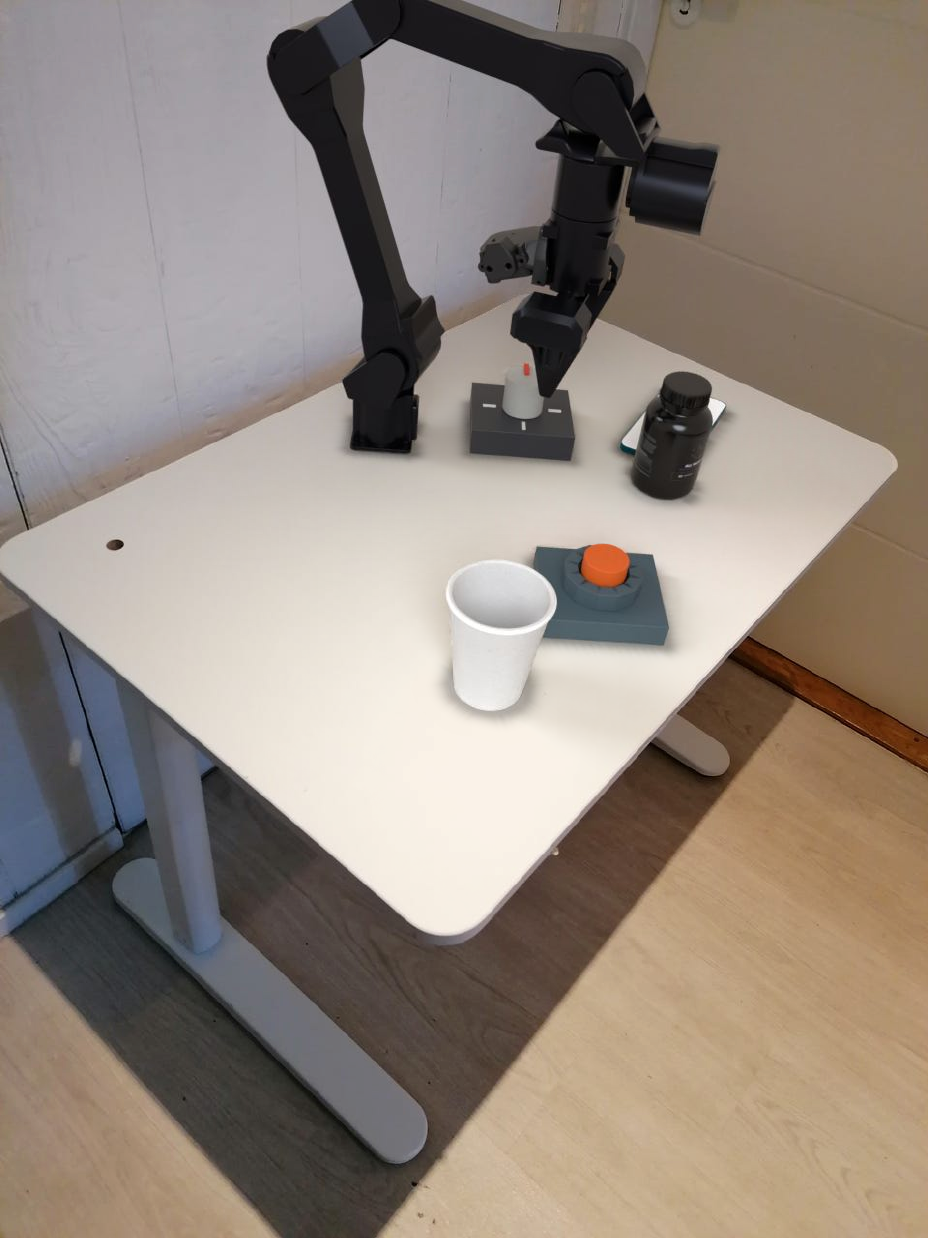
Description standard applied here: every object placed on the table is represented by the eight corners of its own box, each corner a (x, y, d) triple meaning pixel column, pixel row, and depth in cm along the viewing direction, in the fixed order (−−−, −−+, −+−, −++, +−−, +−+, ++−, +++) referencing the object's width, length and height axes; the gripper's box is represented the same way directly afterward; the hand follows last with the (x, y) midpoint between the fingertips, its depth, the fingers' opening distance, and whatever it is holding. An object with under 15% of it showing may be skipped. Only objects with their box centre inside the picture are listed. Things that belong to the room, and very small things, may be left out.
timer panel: (469, 453, 104) (472, 428, 102) (469, 405, 112) (472, 380, 109) (570, 461, 105) (575, 436, 103) (564, 412, 112) (568, 388, 110)
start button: (582, 586, 84) (586, 570, 83) (578, 557, 87) (582, 541, 86) (628, 589, 84) (632, 573, 83) (622, 560, 87) (626, 544, 86)
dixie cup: (559, 700, 79) (579, 609, 72) (473, 738, 75) (486, 646, 68) (501, 636, 84) (515, 546, 77) (417, 669, 80) (425, 577, 73)
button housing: (538, 637, 84) (545, 603, 81) (533, 564, 91) (539, 530, 89) (663, 645, 85) (674, 612, 82) (648, 572, 92) (657, 538, 89)
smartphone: (683, 474, 105) (727, 410, 116) (685, 467, 104) (729, 403, 115) (615, 450, 107) (664, 389, 118) (617, 443, 107) (666, 382, 117)
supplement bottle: (692, 507, 100) (722, 407, 92) (627, 495, 101) (650, 395, 93) (695, 469, 105) (723, 371, 97) (632, 458, 106) (654, 360, 97)
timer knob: (543, 420, 105) (548, 384, 102) (502, 417, 104) (507, 381, 102) (541, 399, 108) (546, 364, 105) (501, 396, 108) (506, 361, 105)
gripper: (524, 161, 91) (506, 317, 102) (460, 227, 78) (447, 399, 89) (640, 184, 89) (609, 341, 100) (594, 256, 76) (564, 428, 87)
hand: (557, 374), depth 94 cm, fingers open, 9 cm apart
